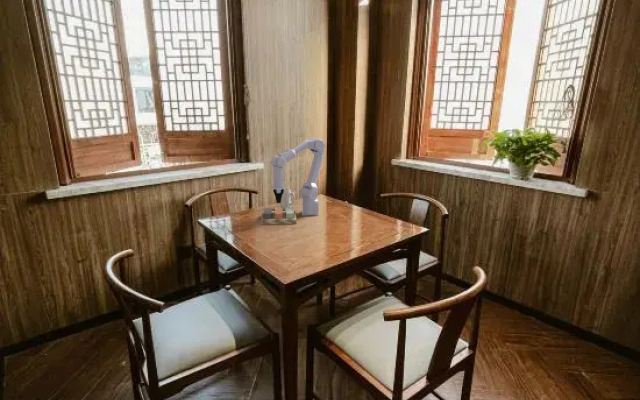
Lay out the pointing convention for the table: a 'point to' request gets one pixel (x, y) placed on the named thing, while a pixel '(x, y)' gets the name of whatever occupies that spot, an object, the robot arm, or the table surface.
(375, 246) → the table surface
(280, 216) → the key terracotta
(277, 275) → the table surface
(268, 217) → the key charcoal
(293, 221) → the board
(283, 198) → the mug
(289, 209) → the key celadon
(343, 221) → the table surface
